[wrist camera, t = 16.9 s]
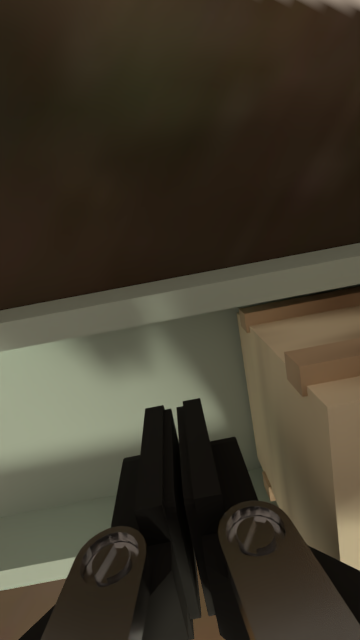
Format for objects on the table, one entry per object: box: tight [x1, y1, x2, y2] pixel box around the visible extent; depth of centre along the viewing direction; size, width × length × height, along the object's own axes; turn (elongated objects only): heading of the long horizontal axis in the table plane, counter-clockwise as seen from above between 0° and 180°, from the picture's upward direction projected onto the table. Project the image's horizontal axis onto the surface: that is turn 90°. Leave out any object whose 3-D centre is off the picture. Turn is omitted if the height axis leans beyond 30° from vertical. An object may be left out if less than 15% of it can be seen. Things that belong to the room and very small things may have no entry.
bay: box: [0, 243, 360, 591], centre depth 12 cm, size 23×9×4 cm, turn 100°
